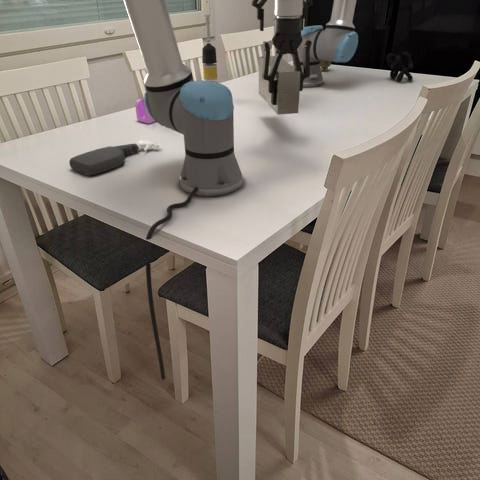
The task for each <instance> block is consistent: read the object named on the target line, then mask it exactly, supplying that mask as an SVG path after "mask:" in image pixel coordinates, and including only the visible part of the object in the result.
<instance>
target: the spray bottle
mask: <svg viewBox="0 0 480 480" xmlns="http://www.w3.org/2000/svg"><path fill="white" fill-rule="evenodd" d="M159 148H160V145H159V144H158V143H155V142H151V141H148V140H144V139H139V140H138V141H137V142H135V143H129V144H128V143H126V144H122V145H113V146H105V147H100V148H97V149H94V150H90V151H87V152H83V153H81V154H78V155H74V156H73V157H70V159H69V161H68V162H69V167H70V168H71V169H72V170H74V171H75V172H78V173H81V174H83V175H85V176H89V177H90V176H91V177H92V176H95V175H99V174H102V173H105V172H107V171H110V170H113V169H116V168H118V167H120V166H122V165H123V164H124V163H125V158H126V156H127V155H131V154H133V153H138V151H140V150H143V151H144V152H146V151H147V150H149V149H159Z"/></svg>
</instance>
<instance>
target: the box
mask: <svg viewBox="0 0 480 480" xmlns="http://www.w3.org/2000/svg"><path fill="white" fill-rule="evenodd" d="M263 58H264V55H263V56H258V95H259V96H260V97H261V98H262V99H263V100H264V101H265V103H266V104H267V105H268V106H269V107H270V108H271V109H272V110H273V111H274V113H275V114H276V115H278V116H279V115H293V114H299V109H300V108H299V105H300V92H299V89H300V71H299V70H297V69H296V68H295V67H293V64H291V63H289V62H287V61H286V60H284V59H283V57H282V58H281V60H280V63H279V66H278V69H277V71H276V75H275V78H274V81H276V105H273V104H272V103H271V93H269V91H268V81H267V80H264V79H263V78H262V69H263ZM274 58H275V55H270V61H269V71H268V76H269V73H270V70H271V67H272V64H273V61H274Z"/></svg>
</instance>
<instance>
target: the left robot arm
mask: <svg viewBox="0 0 480 480" xmlns="http://www.w3.org/2000/svg"><path fill="white" fill-rule="evenodd" d="M123 3H124V6H125V9H126V12H127V15H128V18H129V21H130V24H131V27H132V30H133V33H134V37H135V39H136V42H137V45H138V48H139V51H140V54H141V57H142V60H143V63H144V66H145V69H146V72H147V73H146V75H145V78H144V79H143V85H144V87H145V93H144V95H143V100H144V103H145V107H146V110H147V112H148V114H149V115H150V116H151V117H152V118H153V119H154V120H155V121H154V122H156V123H157V124H158V125H160V126H161V127H164V128H166V129H170V130H172V131H173V132H177V133H178V134H180V135H183V141H184V142H183V143H184V154H185V155H184V158H183V164H182V168H181V171H180V176H179V183H180V184H179V185H180V188H181V189H182V191H184V192H186V193H187V194H188V196H187V198H186V199H185V200H184V201H182V202H177V203H172V204H170V205H168V206H167V208H166V212H167V214H166V216H165V217H162V218H161V219H158V220H157V221H155V222H154V223H153V224H152V225H151V227H150V228H149V230H148V232H147V234H146V237H145V240H148V241H149V240H151V239H152V236H153V234H154V232H155V230H156V229H157V228H158V227H159V226H161V225H162V224H165V223H167V222H168V221H169V220H170V219H171V218H172V216H173V211H172V210H173V209H177V208H183V207H185V206H187V205H188V204H190V203H191V201H192V199H193V198H194V196H199V197H221V196H224V195H229V194H232V193H234V192H235V191H237V190H239V189H240V188H241V187H242V185H243V174H242V171H241V168H240V165H239V163H238V160H237V157H236V154H235V132H234V131H235V129H234V127H235V126H234V122H235V121H234V110H235V105H234V101H233V94H232V91H231V90H230V89H229V87H227V86H226V85H224V84H223V83H220V82H218V81H215V82H208V80H194V76H193V72H192V69H191V67H190V66H188V65H186V64H184V63H183V60H182V56H181V52H180V49H179V46H178V42H177V39H176V34H175V31H174V27H173V24H172V20H171V17H170V13H169V9H168V6H167V2H166V0H123ZM302 9H303V0H274V9H273V10H274V13H273V15H274V16H275V17H274V20H273V37H272V39H271V40H268V41H262V47H263V56H264V58H263V69H262V78H263V79H264V80H267V81H268V91H269V93H271V103H272V104H273V105H276V81H274V78H275V75H276V71H277V69H278V66H279V63H280V60H281V58H282V59H283V56H284V55H288V54H289V55H291V58H292V63H293V62H294V66H295V68H296V69H297V70H299V71H300V89H299V93H300V92H302V91H303V90H304V87H303V81H304V79H305V78H308V77H310V47H311V44H312V42H311V41H310V40H305V39H302V36H301V28H302V19H301V18H300V16H301V15H302ZM301 43H302V47H303V72H302V68H301V64H300V60H299V57H298V56H299V55H298V51H297V49H298V47H299V46H300V44H301ZM273 47H274V48H275V49H276V50H275V53H274V56H275V58H274V61H273V64H272V67H271V70H270V73H269V76H268V71H269V61H270V56H271V50H272V48H273ZM217 82H218V83H217ZM151 265H152V264H151V263H150V262H145V276H146V288H147V289H146V290H147V298H148V305H149V313H150V319H151V325H152V332H153V336H154V342H155V347H156V354H157V359H158V364H159V371H160V378H161V380H162V381H163V380H165V379H166V373H165V366H164V359H163V353H162V348H161V342H160V337H159V331H158V326H157V325H158V324H157V318H156V311H155V304H154V296H153V295H154V294H153V287H152V270H151V269H152V268H151Z"/></svg>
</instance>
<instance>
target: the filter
mask: <svg viewBox="0 0 480 480" xmlns="http://www.w3.org/2000/svg"><path fill="white" fill-rule="evenodd" d="M210 17H211V14H204V18H205V27H206V29H205V30H206V31H205V33H206V39H207V40H206V42H207V43H206V45H204V46H202V49H201V50H202V51H201V52H202V54H201V55H202V57H201V58H202V61H201V63H202V71H203V72H202V73H203V74H202V75H203V81H208V82H217V83H219V82H218V81H216V80H218V64H216V63H218V61H217V48H216V47H215V46H214V45H212V43H210V42H211V40H210V39H211V31H210V29H211V28H210Z"/></svg>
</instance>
